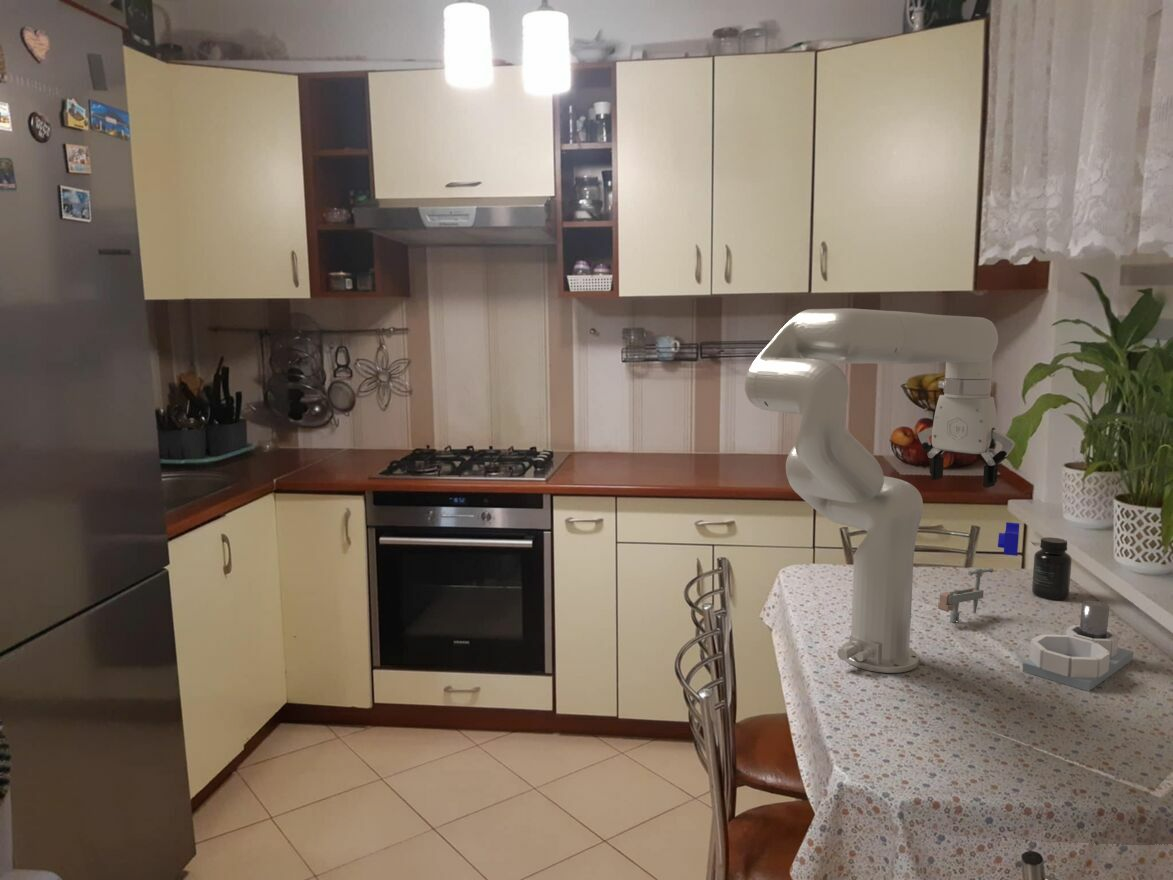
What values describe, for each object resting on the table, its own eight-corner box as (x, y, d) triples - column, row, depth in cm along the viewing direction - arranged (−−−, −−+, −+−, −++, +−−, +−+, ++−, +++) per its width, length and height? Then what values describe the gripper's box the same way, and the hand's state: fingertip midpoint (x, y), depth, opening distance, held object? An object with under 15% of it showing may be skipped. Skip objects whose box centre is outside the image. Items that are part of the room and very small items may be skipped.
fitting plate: (1090, 692, 130) (1092, 665, 130) (1019, 671, 138) (1021, 645, 138) (1134, 660, 142) (1136, 634, 142) (1067, 642, 151) (1069, 618, 150)
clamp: (946, 626, 157) (951, 575, 156) (935, 623, 159) (940, 572, 158) (991, 617, 166) (997, 567, 165) (981, 614, 168) (986, 565, 167)
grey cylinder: (1100, 656, 141) (1104, 610, 139) (1074, 649, 143) (1078, 604, 142) (1108, 649, 143) (1112, 605, 142) (1082, 642, 146) (1086, 598, 145)
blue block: (998, 544, 217) (999, 521, 216) (1017, 546, 215) (1019, 523, 214) (996, 555, 207) (998, 531, 206) (1017, 557, 205) (1018, 533, 204)
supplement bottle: (1049, 589, 180) (1053, 534, 179) (1076, 598, 174) (1080, 542, 172) (1024, 592, 178) (1027, 537, 176) (1051, 602, 172) (1055, 545, 170)
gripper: (911, 387, 154) (906, 478, 156) (1007, 392, 141) (1001, 492, 143) (932, 384, 159) (927, 473, 161) (1026, 390, 145) (1020, 487, 148)
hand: (962, 482), depth 152 cm, fingers open, 9 cm apart
